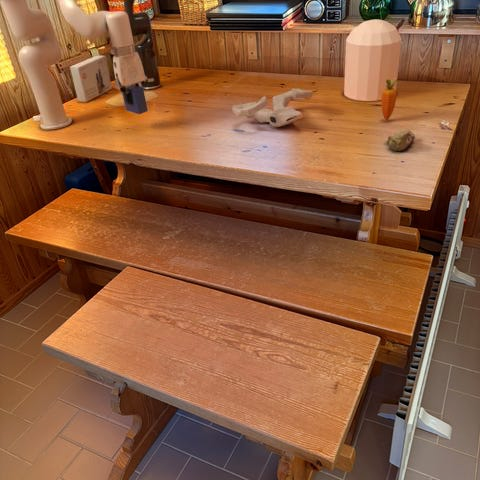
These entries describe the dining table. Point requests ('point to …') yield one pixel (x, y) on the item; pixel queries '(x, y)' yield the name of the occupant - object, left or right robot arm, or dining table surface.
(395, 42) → the container
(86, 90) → the skincare box
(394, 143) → the rock
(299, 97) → the white branched piece
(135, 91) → the block
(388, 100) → the carrot
